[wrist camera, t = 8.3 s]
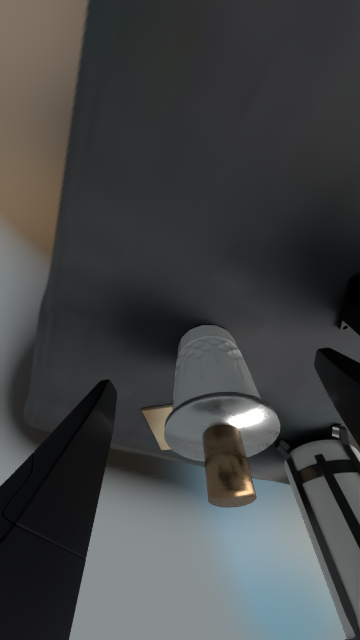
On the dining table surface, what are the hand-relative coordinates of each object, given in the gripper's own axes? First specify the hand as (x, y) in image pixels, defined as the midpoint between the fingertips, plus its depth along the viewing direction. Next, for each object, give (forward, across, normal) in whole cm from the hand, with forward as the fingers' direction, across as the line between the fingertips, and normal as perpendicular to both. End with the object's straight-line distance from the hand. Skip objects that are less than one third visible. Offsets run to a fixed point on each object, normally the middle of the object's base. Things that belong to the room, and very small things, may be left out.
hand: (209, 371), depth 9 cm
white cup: (+13, 0, +10) cm, 17 cm away
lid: (+3, 0, +10) cm, 10 cm away
